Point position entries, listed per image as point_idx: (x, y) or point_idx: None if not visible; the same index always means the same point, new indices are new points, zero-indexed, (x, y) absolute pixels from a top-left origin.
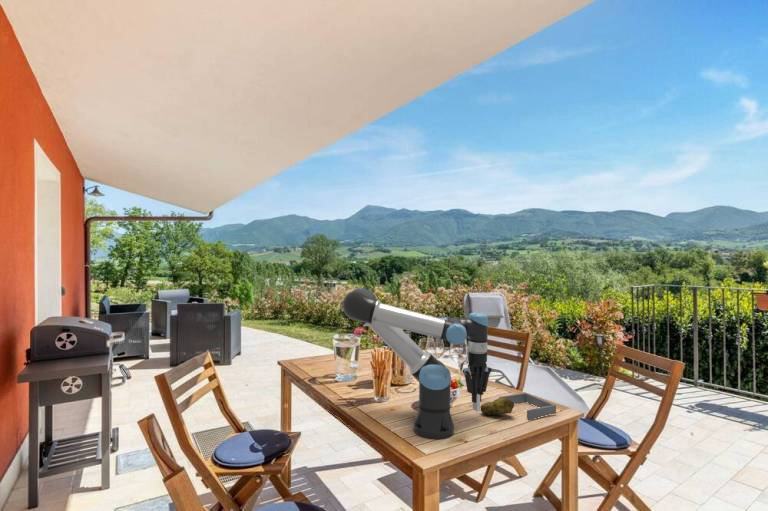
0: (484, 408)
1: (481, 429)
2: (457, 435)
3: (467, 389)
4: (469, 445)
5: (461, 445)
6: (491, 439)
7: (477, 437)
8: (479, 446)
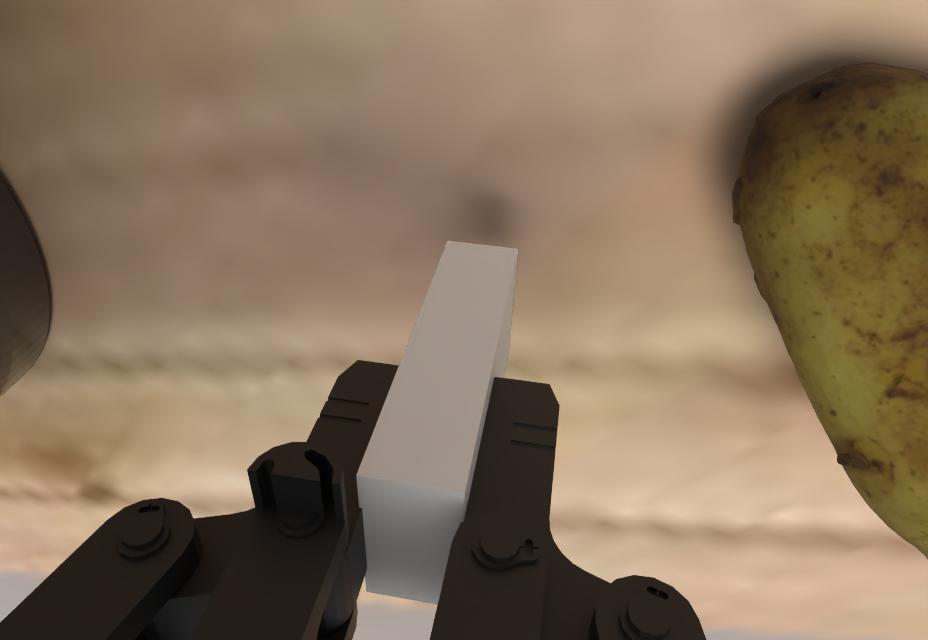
0: (749, 250)
1: None
2: (62, 399)
3: (62, 575)
4: None
5: (40, 512)
6: None
7: (230, 498)
8: None
